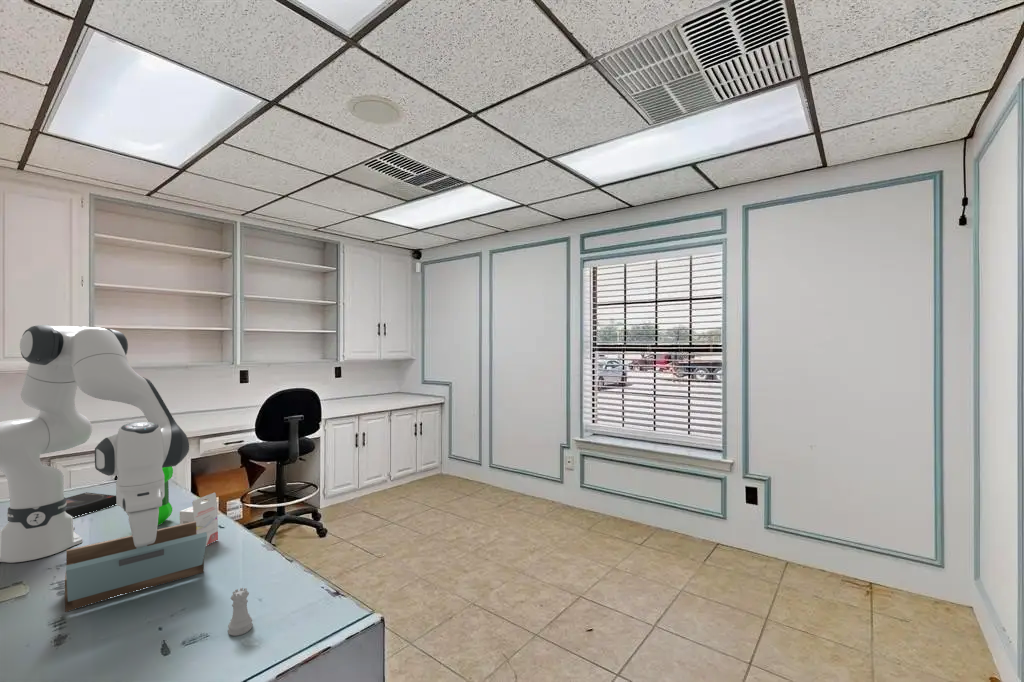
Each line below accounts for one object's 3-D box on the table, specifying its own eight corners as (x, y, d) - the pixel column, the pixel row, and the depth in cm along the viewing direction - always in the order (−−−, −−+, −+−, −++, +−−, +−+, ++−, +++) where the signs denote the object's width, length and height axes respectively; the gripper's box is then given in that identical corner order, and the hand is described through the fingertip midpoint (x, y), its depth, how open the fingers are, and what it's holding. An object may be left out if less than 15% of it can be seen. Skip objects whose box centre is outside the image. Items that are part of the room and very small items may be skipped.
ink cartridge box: (204, 539, 142) (203, 491, 143) (218, 540, 142) (217, 491, 142) (179, 552, 134) (178, 500, 134) (194, 553, 133) (193, 501, 133)
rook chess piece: (234, 624, 98) (233, 586, 98) (256, 623, 99) (256, 584, 99) (223, 637, 94) (222, 597, 94) (246, 636, 94) (245, 596, 94)
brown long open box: (67, 591, 113) (66, 549, 113) (196, 557, 131) (195, 521, 131) (65, 612, 104) (64, 566, 104) (203, 572, 122) (203, 533, 122)
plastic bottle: (173, 524, 155) (172, 448, 155) (132, 532, 149) (131, 453, 149) (174, 515, 163) (173, 443, 164) (135, 522, 157) (134, 448, 158)
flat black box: (29, 518, 165) (29, 507, 165) (86, 502, 181) (86, 492, 181) (61, 523, 160) (61, 511, 160) (116, 506, 176) (116, 495, 176)
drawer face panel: (67, 596, 104) (66, 565, 99) (201, 560, 121) (206, 531, 115) (67, 605, 103) (65, 574, 98) (202, 567, 120) (207, 538, 114)
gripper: (120, 486, 115) (121, 542, 115) (126, 507, 100) (126, 572, 100) (153, 480, 119) (153, 535, 119) (163, 500, 104) (163, 563, 104)
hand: (141, 552), depth 109 cm, fingers closed
